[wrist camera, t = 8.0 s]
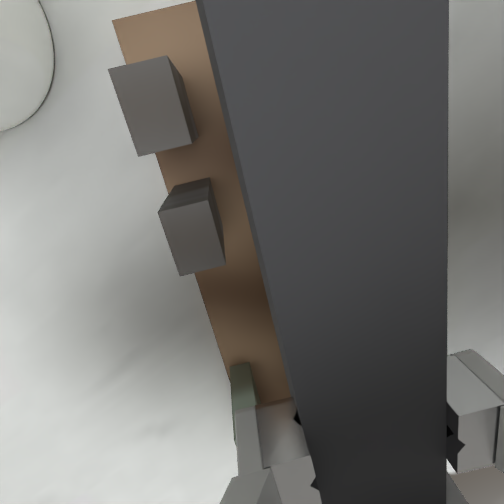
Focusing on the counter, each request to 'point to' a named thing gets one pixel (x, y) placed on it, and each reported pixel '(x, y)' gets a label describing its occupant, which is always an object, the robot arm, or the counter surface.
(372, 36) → the dark grey square bar
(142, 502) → the counter surface
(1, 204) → the counter surface
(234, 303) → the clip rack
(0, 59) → the beer glass
